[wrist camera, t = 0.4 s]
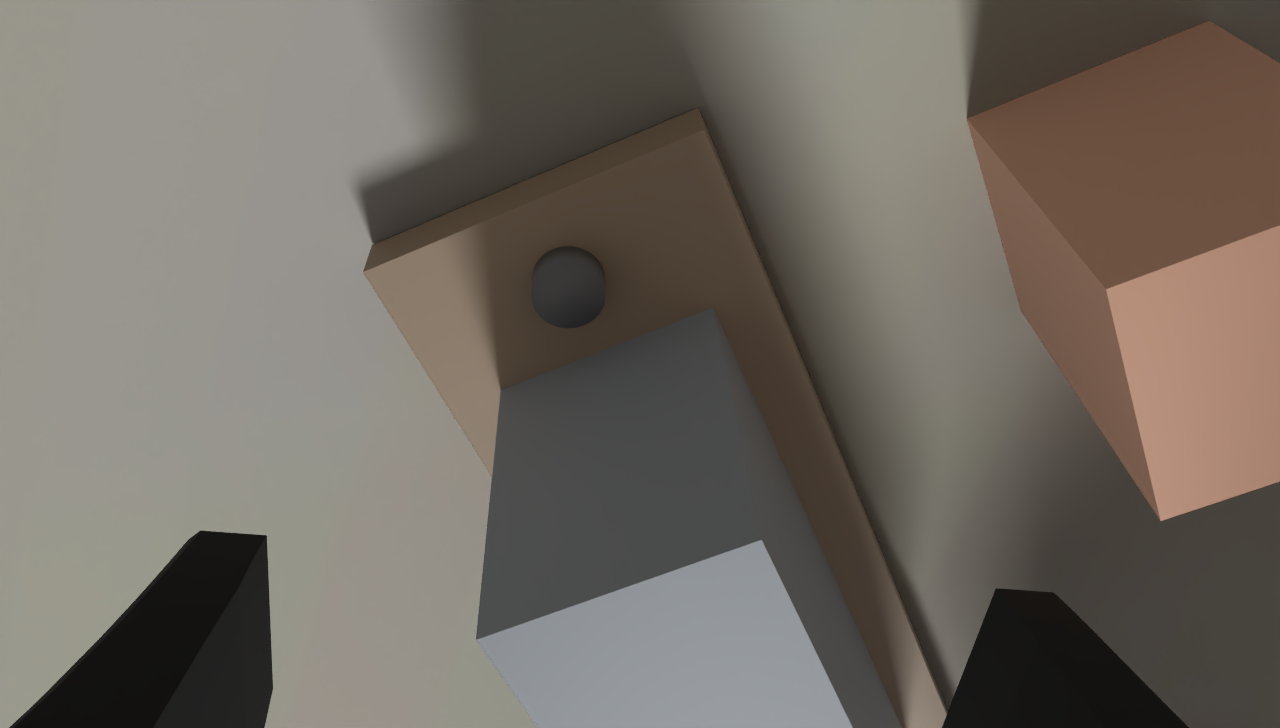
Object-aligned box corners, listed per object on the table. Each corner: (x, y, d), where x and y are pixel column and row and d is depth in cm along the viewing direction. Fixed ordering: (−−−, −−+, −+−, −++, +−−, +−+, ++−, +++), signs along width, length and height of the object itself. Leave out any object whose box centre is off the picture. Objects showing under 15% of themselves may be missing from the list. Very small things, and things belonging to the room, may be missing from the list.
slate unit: (972, 770, 28) (1079, 1075, 22) (738, 841, 29) (780, 1152, 23) (697, 107, 19) (755, 321, 13) (371, 245, 20) (285, 502, 14)
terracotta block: (1241, 228, 21) (1460, 421, 15) (1021, 310, 21) (1160, 520, 16) (1208, 20, 19) (1446, 163, 13) (966, 117, 19) (1105, 289, 14)
